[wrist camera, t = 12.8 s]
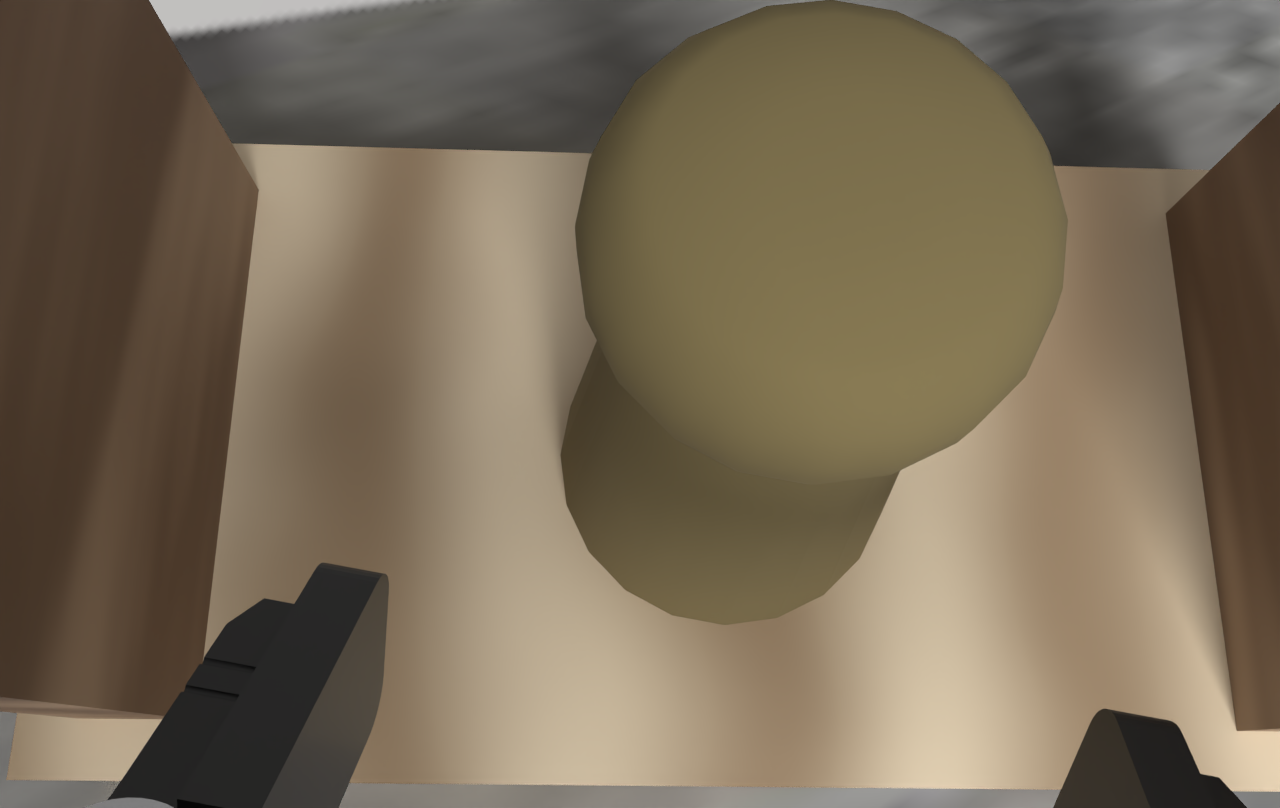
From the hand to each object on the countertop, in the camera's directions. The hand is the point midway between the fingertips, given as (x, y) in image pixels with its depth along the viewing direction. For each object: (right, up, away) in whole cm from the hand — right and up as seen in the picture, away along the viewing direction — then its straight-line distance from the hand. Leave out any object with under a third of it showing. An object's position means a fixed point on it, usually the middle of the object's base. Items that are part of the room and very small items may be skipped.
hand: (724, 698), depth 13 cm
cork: (+1, +2, +9) cm, 9 cm away
